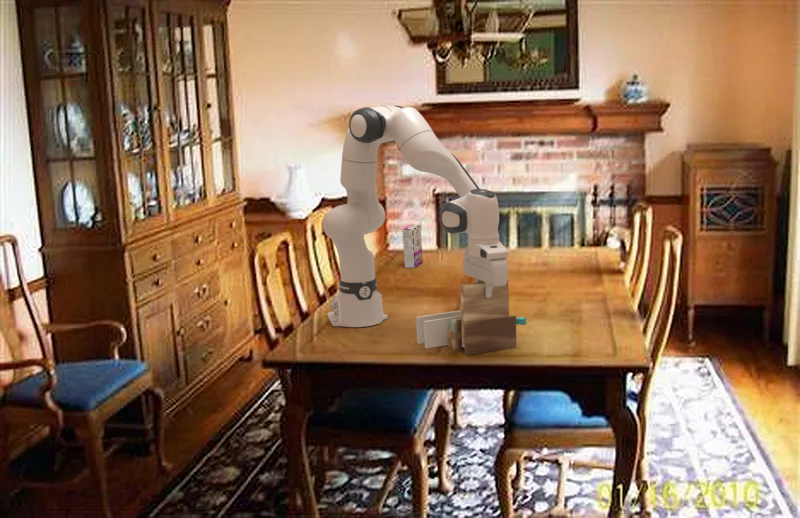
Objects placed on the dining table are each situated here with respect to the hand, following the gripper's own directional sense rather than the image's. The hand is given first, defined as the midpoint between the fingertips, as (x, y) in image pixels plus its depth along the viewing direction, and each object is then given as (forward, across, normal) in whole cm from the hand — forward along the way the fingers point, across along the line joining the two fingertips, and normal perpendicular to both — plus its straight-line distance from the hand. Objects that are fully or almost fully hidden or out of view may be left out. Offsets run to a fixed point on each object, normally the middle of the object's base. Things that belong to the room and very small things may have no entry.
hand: (484, 295), depth 260 cm
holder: (+16, -12, -7) cm, 21 cm away
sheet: (+14, 0, 0) cm, 14 cm away
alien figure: (+16, -21, +10) cm, 28 cm away
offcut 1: (+11, -5, -5) cm, 13 cm away
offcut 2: (+16, -5, -5) cm, 17 cm away
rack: (+15, 0, 0) cm, 16 cm away
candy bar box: (+16, -120, +30) cm, 125 cm away
